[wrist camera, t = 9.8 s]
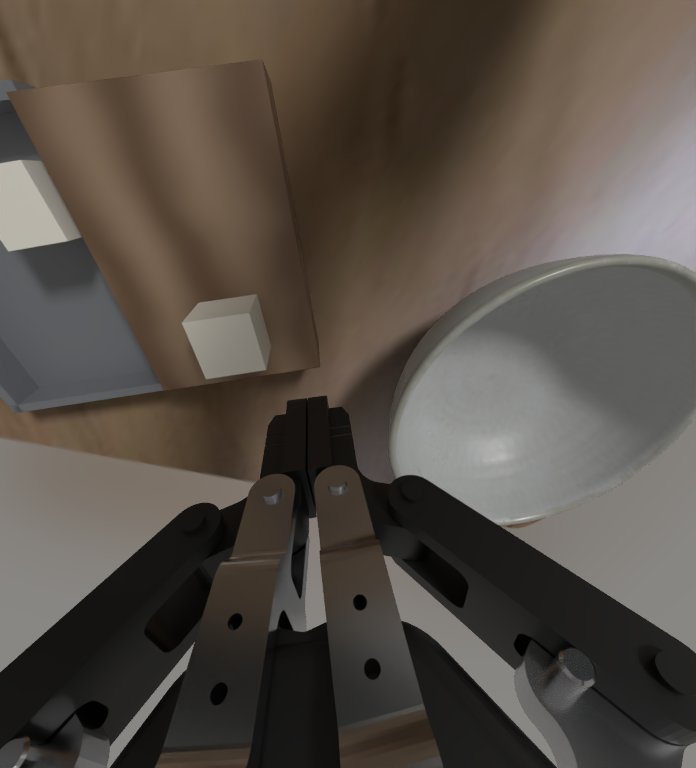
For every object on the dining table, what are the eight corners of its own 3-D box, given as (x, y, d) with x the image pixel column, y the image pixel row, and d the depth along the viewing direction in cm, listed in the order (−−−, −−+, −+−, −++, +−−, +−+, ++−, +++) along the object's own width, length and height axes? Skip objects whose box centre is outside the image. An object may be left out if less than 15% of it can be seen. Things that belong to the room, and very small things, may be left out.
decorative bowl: (374, 459, 44) (395, 545, 33) (353, 250, 29) (379, 292, 19) (567, 427, 44) (644, 503, 34) (644, 207, 29) (820, 225, 19)
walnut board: (270, 80, 22) (262, 59, 18) (318, 342, 33) (320, 366, 29) (63, 107, 22) (5, 92, 18) (182, 363, 33) (163, 390, 29)
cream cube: (20, 159, 19) (-47, 171, 19) (67, 241, 22) (8, 251, 21) (67, 162, 23) (11, 171, 23) (103, 231, 25) (52, 239, 25)
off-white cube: (256, 294, 25) (249, 312, 22) (271, 346, 27) (266, 370, 24) (198, 302, 25) (181, 322, 21) (218, 354, 27) (205, 379, 24)
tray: (51, 92, 21) (10, 79, 18) (182, 370, 33) (170, 389, 30) (-174, 121, 21) (-252, 112, 18) (40, 391, 33) (14, 413, 30)
